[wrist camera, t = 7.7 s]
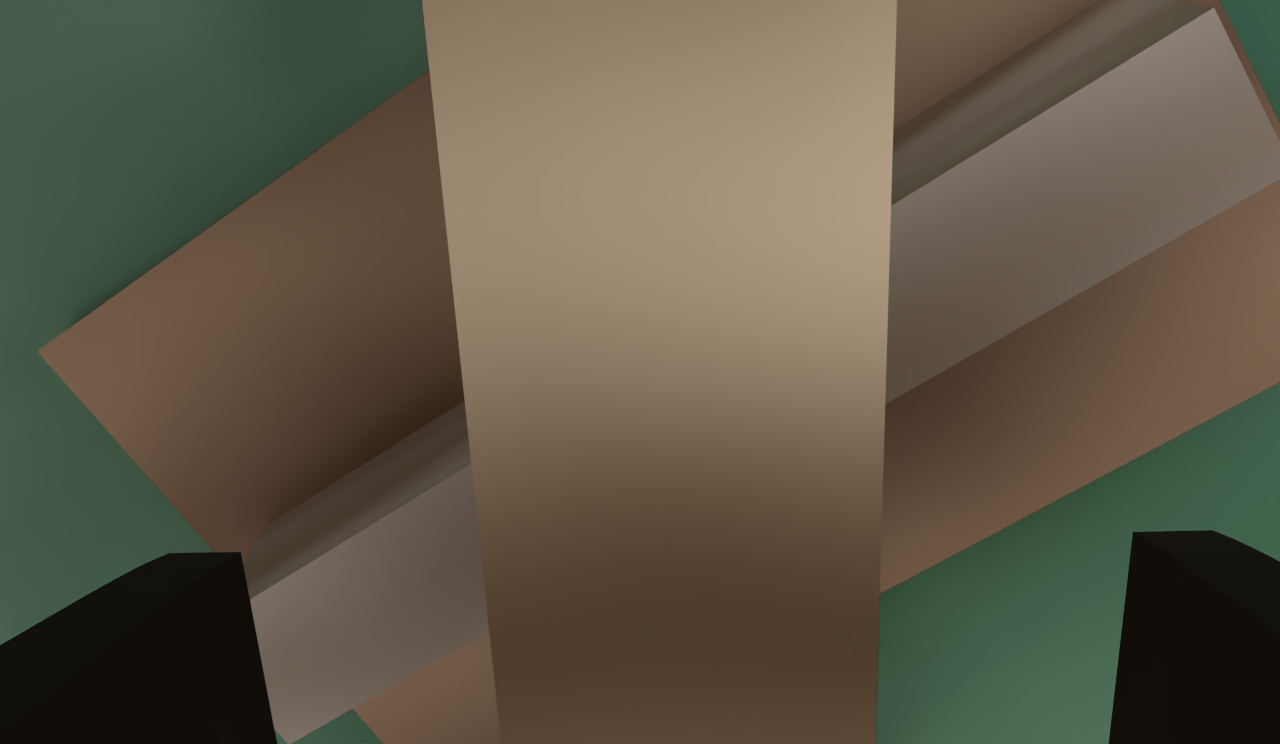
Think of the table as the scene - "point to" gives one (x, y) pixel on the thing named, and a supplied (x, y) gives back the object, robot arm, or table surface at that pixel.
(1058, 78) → the ridge stand
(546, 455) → the maple bar
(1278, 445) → the table surface
